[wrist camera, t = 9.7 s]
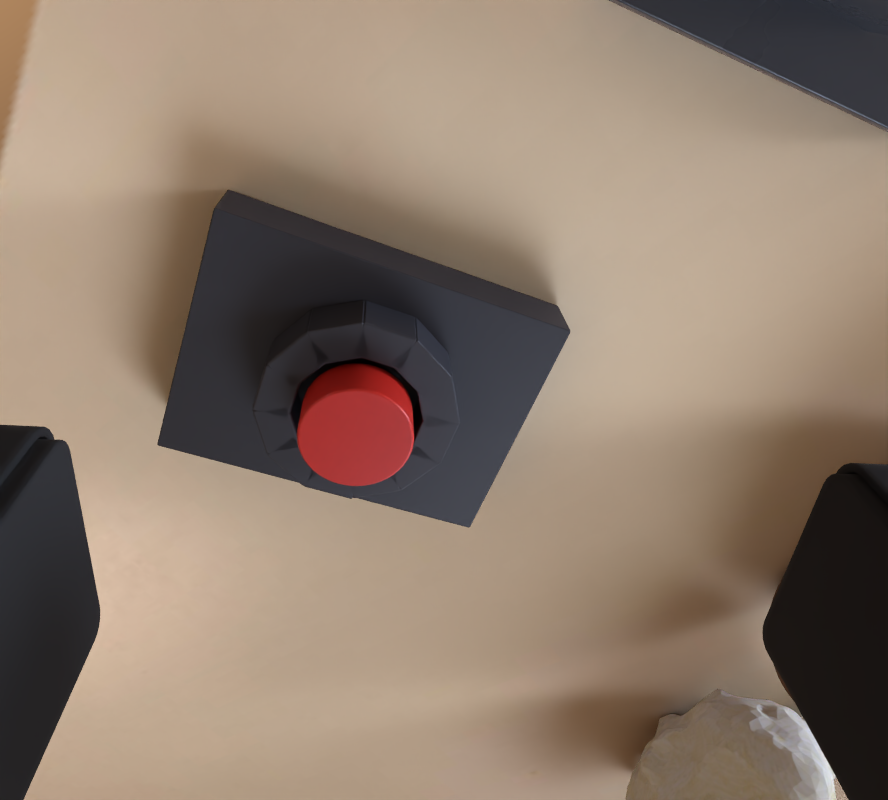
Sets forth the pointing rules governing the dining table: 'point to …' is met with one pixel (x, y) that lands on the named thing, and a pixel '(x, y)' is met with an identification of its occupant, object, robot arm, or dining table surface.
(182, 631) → the dining table surface
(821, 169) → the dining table surface
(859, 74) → the bracket
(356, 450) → the button
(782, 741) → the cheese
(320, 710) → the dining table surface
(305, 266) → the control block
